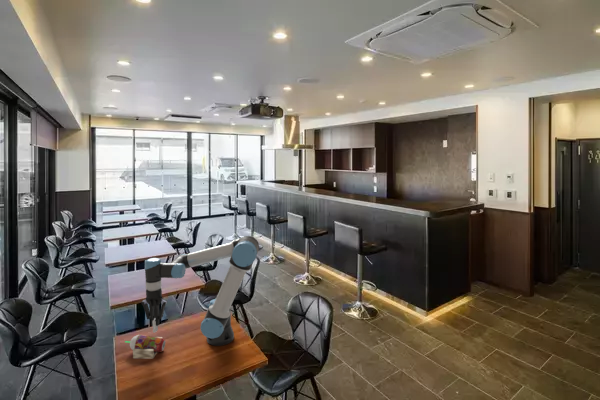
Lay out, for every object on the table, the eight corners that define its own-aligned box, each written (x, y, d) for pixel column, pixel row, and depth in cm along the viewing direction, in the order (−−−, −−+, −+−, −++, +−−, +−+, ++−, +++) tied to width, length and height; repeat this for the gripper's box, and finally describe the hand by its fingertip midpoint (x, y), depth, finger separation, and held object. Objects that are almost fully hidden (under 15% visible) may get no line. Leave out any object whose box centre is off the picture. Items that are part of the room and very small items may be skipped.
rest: (163, 344, 184) (162, 337, 184) (152, 358, 171) (152, 350, 171) (144, 344, 184) (144, 336, 184) (133, 358, 171) (132, 350, 171)
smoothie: (160, 346, 172) (120, 342, 171) (161, 357, 176) (121, 353, 174) (166, 333, 180) (128, 329, 178) (166, 344, 183) (129, 340, 182)
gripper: (169, 285, 177) (170, 327, 180) (144, 285, 177) (146, 327, 180) (163, 291, 170) (164, 335, 173) (137, 290, 170) (139, 334, 173)
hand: (155, 331), depth 176 cm, fingers closed
